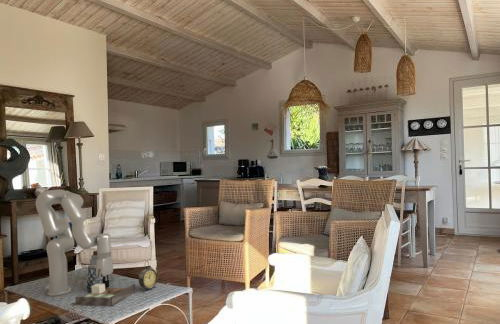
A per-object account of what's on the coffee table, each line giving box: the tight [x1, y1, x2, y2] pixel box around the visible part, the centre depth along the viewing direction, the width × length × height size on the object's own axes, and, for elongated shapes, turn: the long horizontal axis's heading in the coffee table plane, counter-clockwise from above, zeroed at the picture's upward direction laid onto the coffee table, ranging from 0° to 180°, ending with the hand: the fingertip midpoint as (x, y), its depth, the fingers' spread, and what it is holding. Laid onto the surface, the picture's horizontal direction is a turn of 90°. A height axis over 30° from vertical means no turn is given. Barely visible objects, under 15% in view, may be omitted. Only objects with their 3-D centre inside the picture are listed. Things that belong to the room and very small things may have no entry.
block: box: [91, 283, 105, 294], centre depth 215 cm, size 5×5×4 cm
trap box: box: [75, 283, 137, 307], centre depth 210 cm, size 22×22×4 cm
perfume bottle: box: [89, 250, 98, 267], centre depth 251 cm, size 7×7×18 cm
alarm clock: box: [138, 261, 158, 293], centre depth 221 cm, size 11×5×16 cm, turn 148°
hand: (106, 287), depth 221 cm, fingers closed
